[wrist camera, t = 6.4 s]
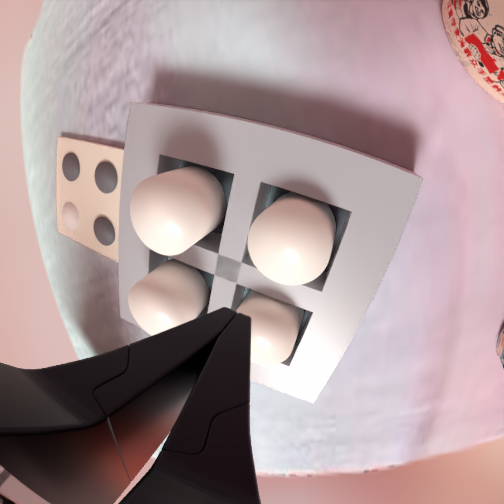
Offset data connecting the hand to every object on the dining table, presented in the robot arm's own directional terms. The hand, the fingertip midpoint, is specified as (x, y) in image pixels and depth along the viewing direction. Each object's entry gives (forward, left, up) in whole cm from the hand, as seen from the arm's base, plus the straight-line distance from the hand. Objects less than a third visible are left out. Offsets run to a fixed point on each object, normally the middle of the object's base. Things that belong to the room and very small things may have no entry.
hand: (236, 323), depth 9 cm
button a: (-6, 0, -9) cm, 11 cm away
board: (-3, +3, -10) cm, 11 cm away
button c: (0, 0, -10) cm, 10 cm away
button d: (0, +6, -8) cm, 10 cm away
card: (-3, +16, -10) cm, 19 cm away
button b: (-6, +6, -8) cm, 12 cm away
